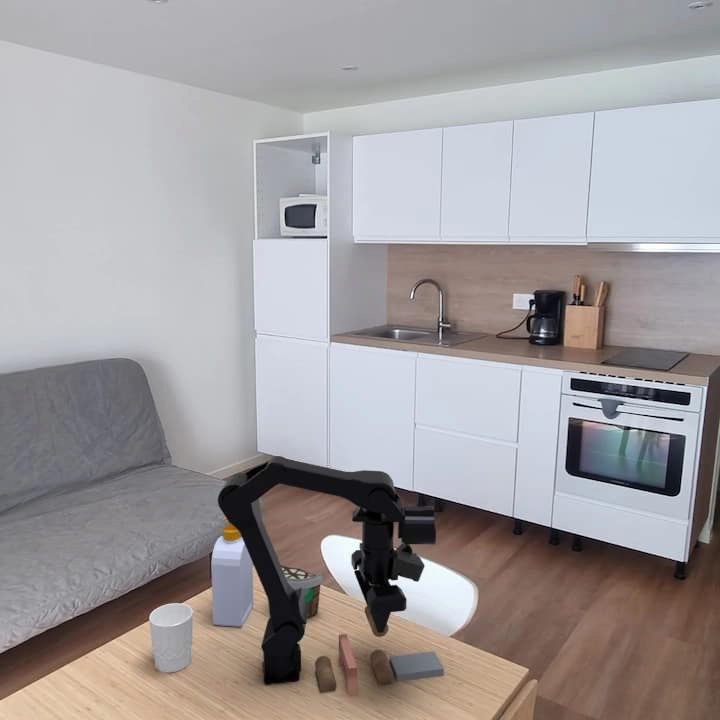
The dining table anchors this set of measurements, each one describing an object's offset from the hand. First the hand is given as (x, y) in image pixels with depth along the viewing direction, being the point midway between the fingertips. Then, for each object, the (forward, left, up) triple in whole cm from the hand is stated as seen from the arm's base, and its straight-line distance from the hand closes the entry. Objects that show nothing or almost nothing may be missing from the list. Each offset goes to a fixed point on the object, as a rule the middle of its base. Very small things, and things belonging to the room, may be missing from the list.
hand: (376, 621), depth 120 cm
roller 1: (-10, 0, -8) cm, 13 cm away
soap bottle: (-25, +25, -11) cm, 37 cm away
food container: (-13, +23, -11) cm, 29 cm away
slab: (+8, 0, -11) cm, 14 cm away
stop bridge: (-5, 0, -11) cm, 12 cm away
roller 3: (+1, 0, -8) cm, 8 cm away
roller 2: (0, 0, -1) cm, 1 cm away
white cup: (-37, +11, -11) cm, 40 cm away
